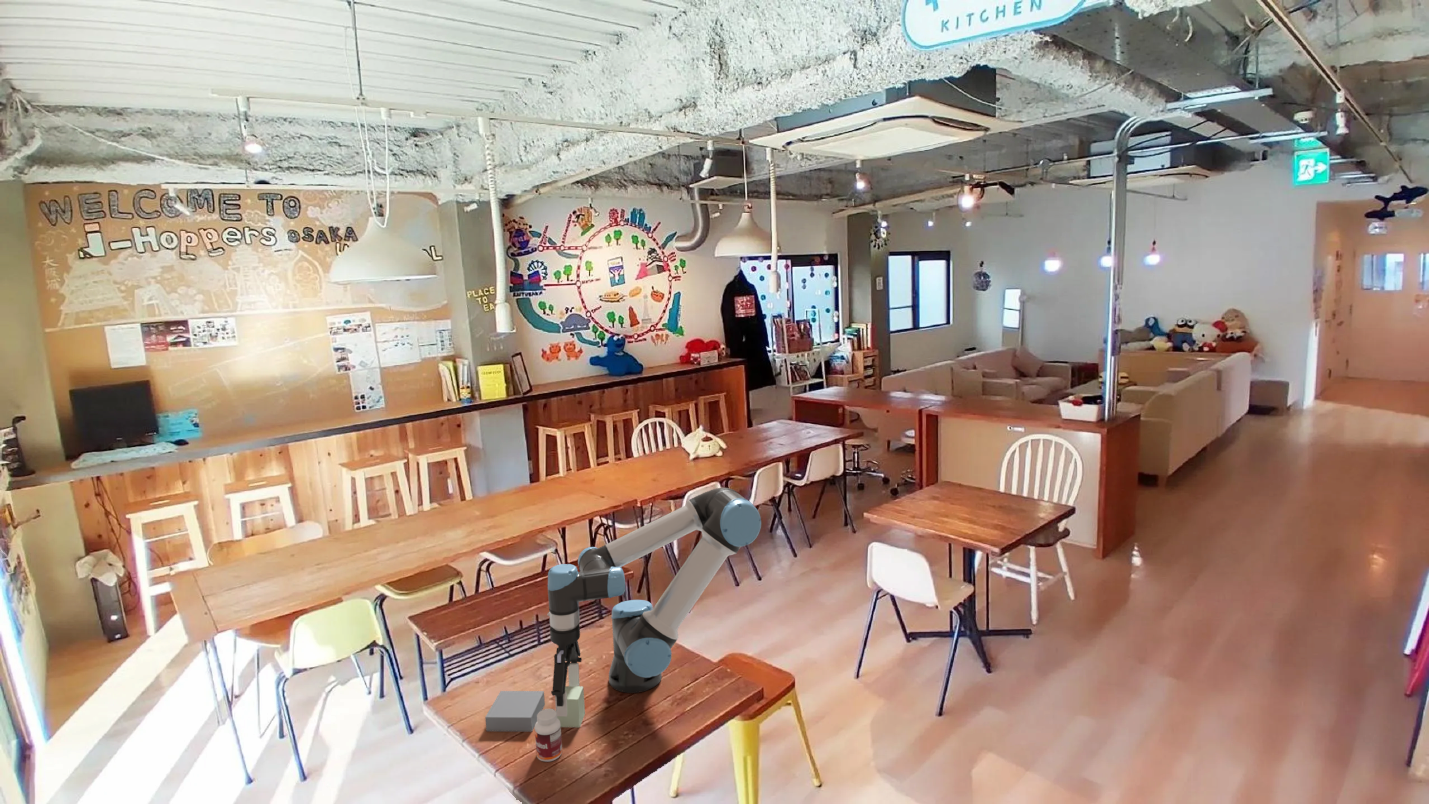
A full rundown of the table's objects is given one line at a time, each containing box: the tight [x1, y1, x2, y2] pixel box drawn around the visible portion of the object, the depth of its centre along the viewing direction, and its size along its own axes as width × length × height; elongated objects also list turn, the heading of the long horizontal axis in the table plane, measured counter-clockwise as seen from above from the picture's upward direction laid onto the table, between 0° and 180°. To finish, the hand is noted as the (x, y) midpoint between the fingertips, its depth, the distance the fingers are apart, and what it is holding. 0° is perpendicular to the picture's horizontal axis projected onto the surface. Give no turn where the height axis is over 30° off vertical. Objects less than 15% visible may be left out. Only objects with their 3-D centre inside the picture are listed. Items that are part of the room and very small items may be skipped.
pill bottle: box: [534, 708, 563, 763], centre depth 180 cm, size 6×6×11 cm
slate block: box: [484, 690, 546, 733], centre depth 196 cm, size 12×12×4 cm
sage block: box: [557, 685, 586, 728], centre depth 194 cm, size 6×6×8 cm
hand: (568, 700), depth 193 cm, fingers open, 13 cm apart
